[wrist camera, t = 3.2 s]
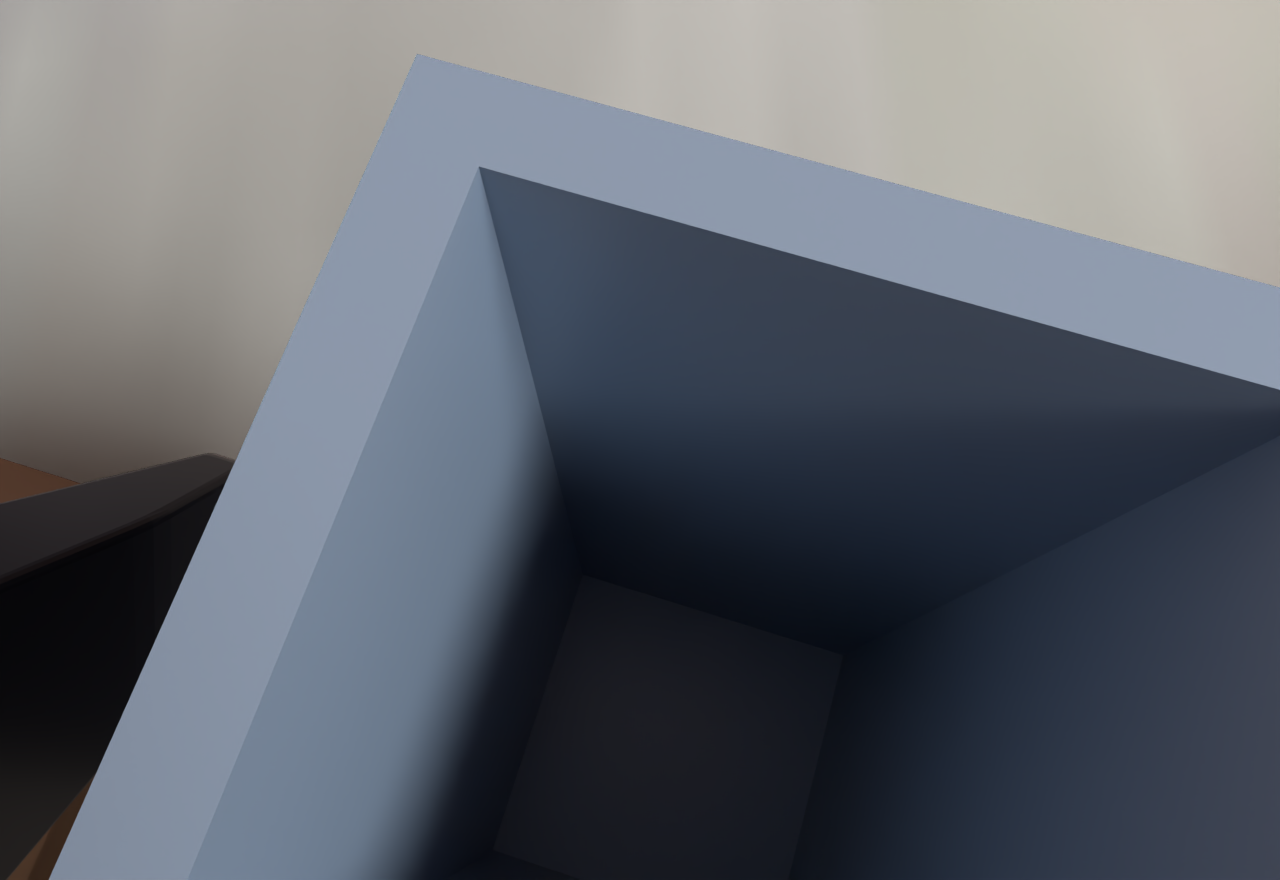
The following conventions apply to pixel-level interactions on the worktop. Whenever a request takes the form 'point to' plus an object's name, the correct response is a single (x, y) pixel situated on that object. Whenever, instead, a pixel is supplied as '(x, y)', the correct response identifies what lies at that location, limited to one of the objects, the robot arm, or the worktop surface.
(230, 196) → the worktop surface
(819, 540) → the small plastic crate
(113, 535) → the robot arm
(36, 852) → the wooden crate
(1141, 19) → the worktop surface
